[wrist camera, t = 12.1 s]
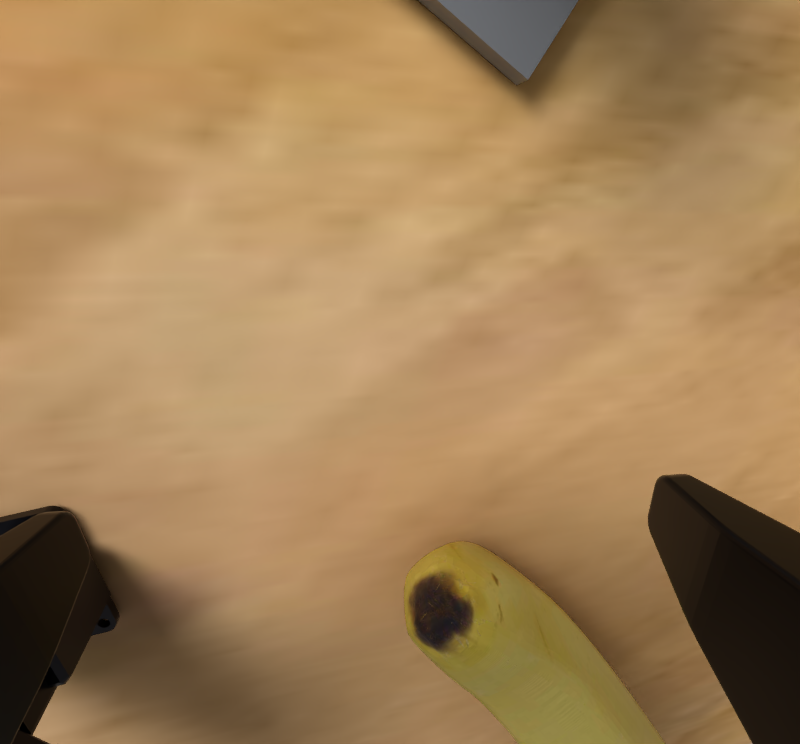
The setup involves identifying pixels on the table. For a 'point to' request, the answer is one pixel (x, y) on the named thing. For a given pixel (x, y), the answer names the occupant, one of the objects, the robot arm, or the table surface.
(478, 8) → the base plate
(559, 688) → the banana
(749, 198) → the table surface
